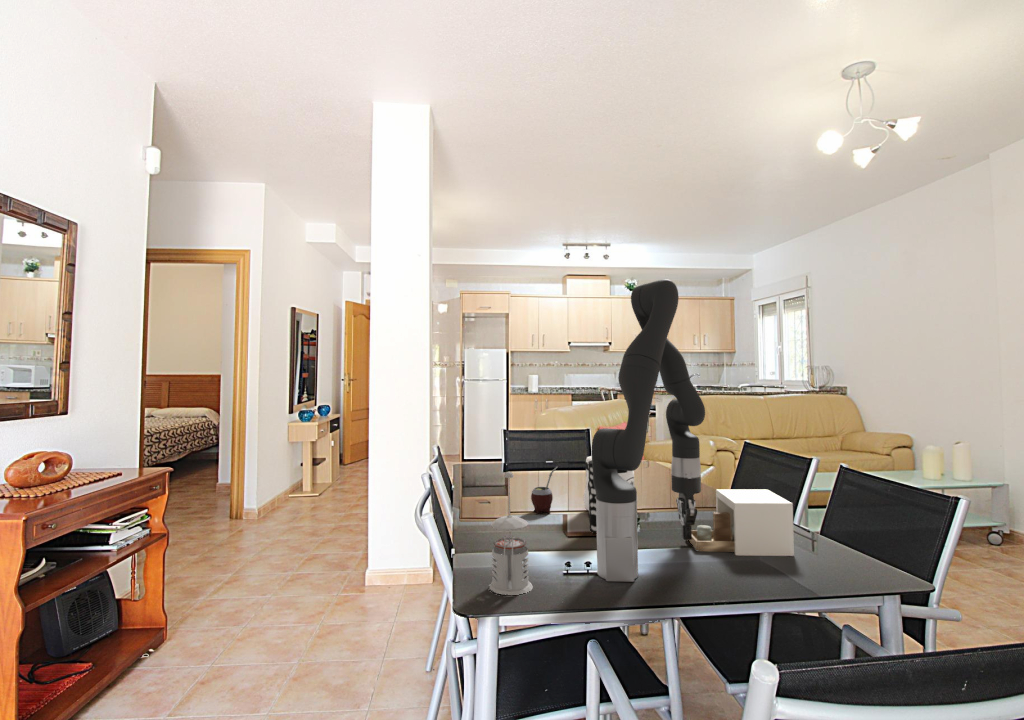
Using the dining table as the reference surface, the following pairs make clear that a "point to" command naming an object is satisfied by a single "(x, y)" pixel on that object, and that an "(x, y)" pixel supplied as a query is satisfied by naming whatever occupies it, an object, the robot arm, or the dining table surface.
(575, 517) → the dining table surface
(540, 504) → the mate gourd
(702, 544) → the tray
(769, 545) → the white open block
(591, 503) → the white-spotted black cylinder
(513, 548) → the french press
